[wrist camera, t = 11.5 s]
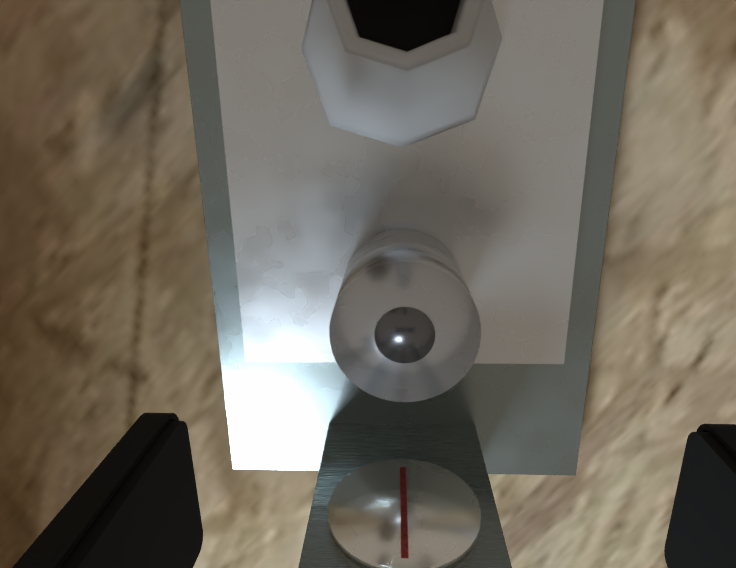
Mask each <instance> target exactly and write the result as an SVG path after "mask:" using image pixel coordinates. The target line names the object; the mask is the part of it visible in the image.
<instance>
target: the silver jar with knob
mask: <svg viewBox="0 0 736 568" xmlns="http://www.w3.org/2000/svg"><path fill="white" fill-rule="evenodd" d="M329 337H330V345H331V349H332V353H333V355H334V358H335V360H336V362H337V364H338V366H339V367H340V369H341V370H342V372H343V373H344V374H345V375H346V377H347V378H348V379H349V380H350V381H351V382H352V383H354V384H355V385H356V386H357V387H359V388H360V389H362V390H363V391H365V392H367V393H369V394H371V395H373V396H375V397H378V398H381V399H385V400H389V401H395V402H415V401H421V400H426V399H429V398H433V397H435V396H437V395H440V394H442V393H444V392H445V391H447V390H449V389H450V388H452V387H453V386H454V385H456V384H457V383H458V382H459V381H460V380H461V379H462V378H463V377H464V376H465V375H466V374H467V372H468V371H469V370H470V368H471V366H472V365H473V363H474V361H475V359H476V356H477V354H478V351H479V347H480V342H481V322H480V317H479V313H478V310H477V307H476V305H475V303H474V300H473V298H472V296H471V293H470V291H469V288H468V286H467V284H466V281H465V279H464V277H463V274H462V272H461V270H460V267H459V265H458V263H457V261H456V259H455V257H454V256H453V254H452V253H451V251H450V250H449V249H448V248H447V247H446V246H445V245H444V244H443V243H442V242H440V241H439V240H437V239H436V238H434V237H433V236H431V235H429V234H426V233H423V232H420V231H416V230H411V229H396V230H390V231H386V232H383V233H380V234H378V235H376V236H374V237H372V238H370V239H369V240H367V241H366V242H365V243H363V244H362V245H361V246H360V247H359V248H358V249H357V250H356V251H355V253H354V254H353V256H352V257H351V259H350V261H349V263H348V265H347V268H346V271H345V274H344V277H343V280H342V283H341V287H340V290H339V293H338V296H337V299H336V303H335V306H334V309H333V312H332V315H331V320H330V326H329Z"/></svg>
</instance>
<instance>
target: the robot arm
mask: <svg viewBox="0 0 736 568" xmlns="http://www.w3.org/2000/svg"><path fill="white" fill-rule="evenodd" d="M202 541H203V529H202V523H201V516H200V509H199V502H198V495H197V489H196V482H195V475H194V468H193V462H192V455H191V448H190V441H189V435H188V428H187V425H186V423H185V422H184V421H179V419H178V417H177V415H176V414H174V413H144V414H142V415H141V416H140V417H139V418H138V420H137V421H136V422H135V423H134V424H133V425H132V427H131V428H130V429H129V430H128V431H127V433H126V434H125V435H124V436H123V437H122V439H121V440H120V441H119V442H118V443H117V444H116V446H115V447H114V448H113V449H112V450H111V452H110V453H109V454H108V455H107V456H106V457H105V459H104V460H103V461H102V462H101V463H100V465H99V466H98V467H97V468H96V469H95V470H94V472H93V473H92V474H91V475H90V476H89V478H88V479H87V480H86V481H85V482H84V483H83V485H82V486H81V487H80V488H79V489H78V491H77V492H76V493H75V494H74V495H73V496H72V498H71V499H70V500H69V501H68V502H67V504H66V505H65V506H64V507H63V508H62V509H61V511H60V512H59V513H58V514H57V515H56V517H55V518H54V519H53V520H52V521H51V523H50V524H49V525H48V526H47V527H46V528H45V530H44V531H43V532H42V533H41V534H40V536H39V537H38V538H37V539H36V540H35V541H34V543H33V544H32V545H31V546H30V547H29V549H28V550H27V551H26V552H25V553H24V554H23V556H22V557H21V558H20V559H19V560H18V562H17V563H16V564H15V565H14V566H13V567H12V568H193V566H194V564H195V562H196V560H197V557H198V555H199V553H200V550H201V546H202ZM665 559H666V563H667V566H668V568H736V425H735V424H703V425H700V426H699V428H698V429H697V432H692V433H690V434H689V436H688V439H687V443H686V448H685V452H684V457H683V462H682V467H681V472H680V476H679V481H678V486H677V491H676V496H675V500H674V505H673V510H672V515H671V520H670V524H669V529H668V534H667V539H666V544H665Z"/></svg>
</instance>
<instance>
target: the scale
mask: <svg viewBox="0 0 736 568" xmlns="http://www.w3.org/2000/svg"><path fill="white" fill-rule="evenodd" d="M311 2H312V0H180V7H181V16H182V25H183V34H184V43H185V51H186V60H187V69H188V78H189V87H190V96H191V104H192V113H193V122H194V131H195V140H196V148H197V157H198V166H199V175H200V184H201V193H202V201H203V210H204V219H205V228H206V237H207V245H208V254H209V263H210V272H211V281H212V290H213V298H214V307H215V316H216V325H217V334H218V342H219V351H220V360H221V369H222V378H223V387H224V395H225V404H226V413H227V422H228V431H229V439H230V448H231V457H232V466H233V469H253V470H308V471H319V473H318V478H317V483H316V488H315V492H314V497H313V502H312V506H311V511H310V516H309V521H308V525H307V530H306V535H305V539H304V544H303V549H302V553H301V558H300V563H299V568H512V566H511V563H510V559H509V555H508V551H507V547H506V543H505V539H504V535H503V532H502V528H501V524H500V520H499V516H498V512H497V508H496V504H495V500H494V497H493V493H492V489H491V485H490V481H489V477H488V474H529V475H576V469H577V461H578V453H579V445H580V437H581V429H582V421H583V413H584V406H585V398H586V390H587V382H588V374H589V366H590V358H591V350H592V342H593V334H594V326H595V318H596V311H597V303H598V295H599V287H600V279H601V271H602V263H603V255H604V247H605V239H606V231H607V224H608V216H609V208H610V200H611V192H612V184H613V176H614V168H615V160H616V152H617V144H618V136H619V129H620V121H621V113H622V105H623V97H624V89H625V81H626V73H627V65H628V57H629V49H630V41H631V34H632V26H633V18H634V10H635V2H636V0H492V4H493V7H494V11H495V14H496V18H497V22H498V25H499V29H500V32H501V36H502V41H501V44H500V47H499V50H498V53H497V56H496V59H495V62H494V65H493V68H492V71H491V74H490V77H489V80H488V83H487V85H486V88H485V91H484V94H483V97H482V100H481V103H480V106H479V109H478V112H477V115H476V118H475V120H473V121H470V122H468V123H465V124H462V125H460V126H457V127H455V128H452V129H449V130H447V131H444V132H442V133H439V134H436V135H434V136H431V137H429V138H426V139H423V140H421V141H418V142H416V143H413V144H410V145H408V146H405V147H399V146H396V145H393V144H389V143H386V142H383V141H379V140H376V139H373V138H369V137H366V136H363V135H359V134H356V133H353V132H349V131H346V130H343V129H339V128H336V127H333V126H330V123H329V121H328V118H327V116H326V113H325V110H324V108H323V105H322V103H321V100H320V97H319V95H318V92H317V90H316V87H315V84H314V82H313V79H312V77H311V74H310V71H309V69H308V66H307V63H306V61H305V58H304V56H303V53H302V50H301V47H302V42H303V38H304V33H305V29H306V25H307V20H308V16H309V11H310V7H311ZM396 229H411V230H416V231H420V232H423V233H426V234H429V235H431V236H433V237H434V238H436V239H437V240H439V241H440V242H442V243H443V244H444V245H445V246H446V247H447V248H448V249H449V250H450V251H451V253H452V254H453V256H454V257H455V259H456V261H457V263H458V265H459V267H460V270H461V272H462V274H463V277H464V279H465V281H466V284H467V286H468V288H469V291H470V293H471V296H472V298H473V300H474V303H475V305H476V307H477V310H478V313H479V317H480V322H481V342H480V347H479V351H478V354H477V356H476V359H475V361H474V363H473V365H472V366H471V368H470V370H469V371H468V372H467V374H466V375H465V376H464V377H463V378H462V379H461V380H460V381H459V382H458V383H457V384H456V385H454V386H453V387H452V388H450V389H449V390H447V391H445V392H444V393H442V394H440V395H437V396H435V397H433V398H429V399H426V400H421V401H415V402H395V401H389V400H385V399H381V398H378V397H375V396H373V395H371V394H369V393H367V392H365V391H363V390H362V389H360V388H359V387H357V386H356V385H355V384H354V383H352V382H351V381H350V380H349V379H348V378H347V377H346V375H345V374H344V373H343V372H342V370H341V369H340V367H339V366H338V364H337V362H336V360H335V358H334V355H333V353H332V349H331V345H330V337H329V326H330V320H331V315H332V312H333V309H334V306H335V303H336V299H337V296H338V293H339V290H340V287H341V283H342V280H343V277H344V274H345V271H346V268H347V265H348V263H349V261H350V259H351V257H352V256H353V254H354V253H355V251H356V250H357V249H358V248H359V247H360V246H361V245H362V244H363V243H365V242H366V241H367V240H369V239H370V238H372V237H374V236H376V235H378V234H380V233H383V232H386V231H390V230H396Z"/></svg>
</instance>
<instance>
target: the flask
mask: <svg viewBox="0 0 736 568" xmlns="http://www.w3.org/2000/svg"><path fill="white" fill-rule="evenodd" d="M501 41H502V36H501V32H500V29H499V25H498V22H497V18H496V14H495V11H494V7H493V4H492V0H312V2H311V7H310V11H309V16H308V20H307V25H306V29H305V33H304V38H303V42H302V47H301V50H302V53H303V56H304V58H305V61H306V63H307V66H308V69H309V71H310V74H311V77H312V79H313V82H314V84H315V87H316V90H317V92H318V95H319V97H320V100H321V103H322V105H323V108H324V110H325V113H326V116H327V118H328V121H329V123H330V126H333V127H336V128H339V129H343V130H346V131H349V132H353V133H356V134H359V135H363V136H366V137H369V138H373V139H376V140H379V141H383V142H386V143H389V144H393V145H396V146H399V147H405V146H408V145H410V144H413V143H416V142H418V141H421V140H423V139H426V138H429V137H431V136H434V135H436V134H439V133H442V132H444V131H447V130H449V129H452V128H455V127H457V126H460V125H462V124H465V123H468V122H470V121H473V120H475V118H476V115H477V112H478V109H479V106H480V103H481V100H482V97H483V94H484V91H485V88H486V85H487V83H488V80H489V77H490V74H491V71H492V68H493V65H494V62H495V59H496V56H497V53H498V50H499V47H500V44H501Z"/></svg>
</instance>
